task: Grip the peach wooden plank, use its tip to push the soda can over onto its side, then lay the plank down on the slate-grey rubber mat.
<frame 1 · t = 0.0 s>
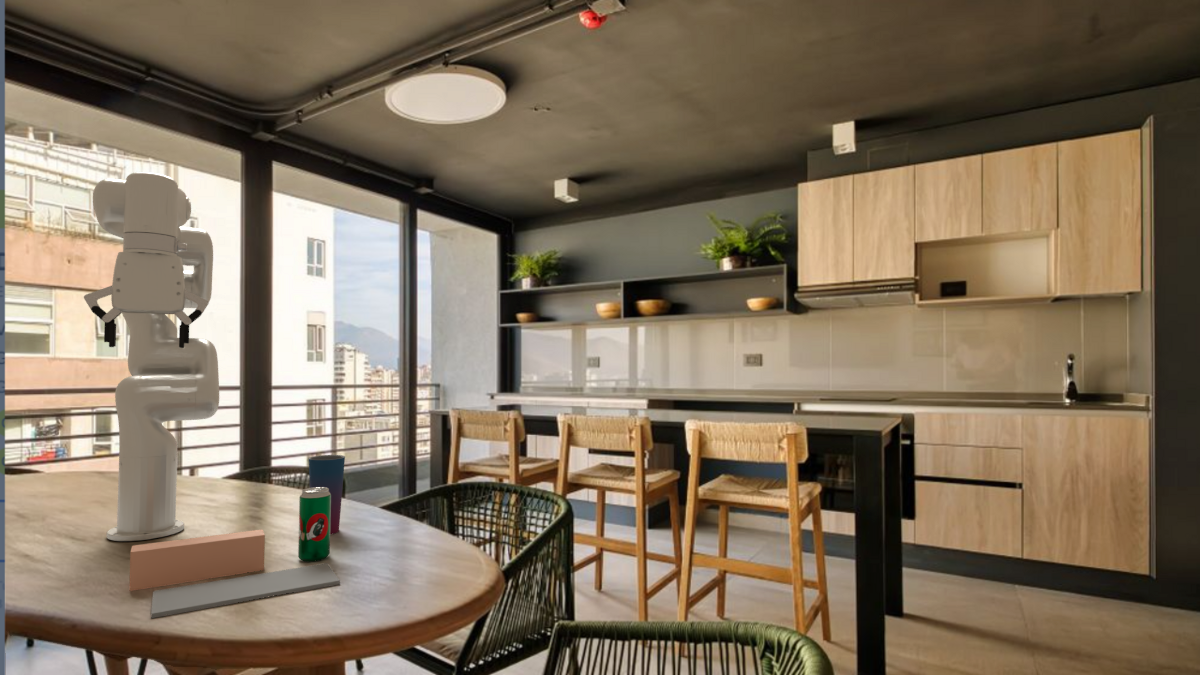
hand: (147, 347, 109), 37 cm above the table, tool pointing down, fingers open, 9 cm apart
soda can: (314, 559, 112), on the table
peach wooden plank: (199, 577, 103), on the table
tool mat: (248, 589, 97), on the table
cup: (325, 533, 129), on the table
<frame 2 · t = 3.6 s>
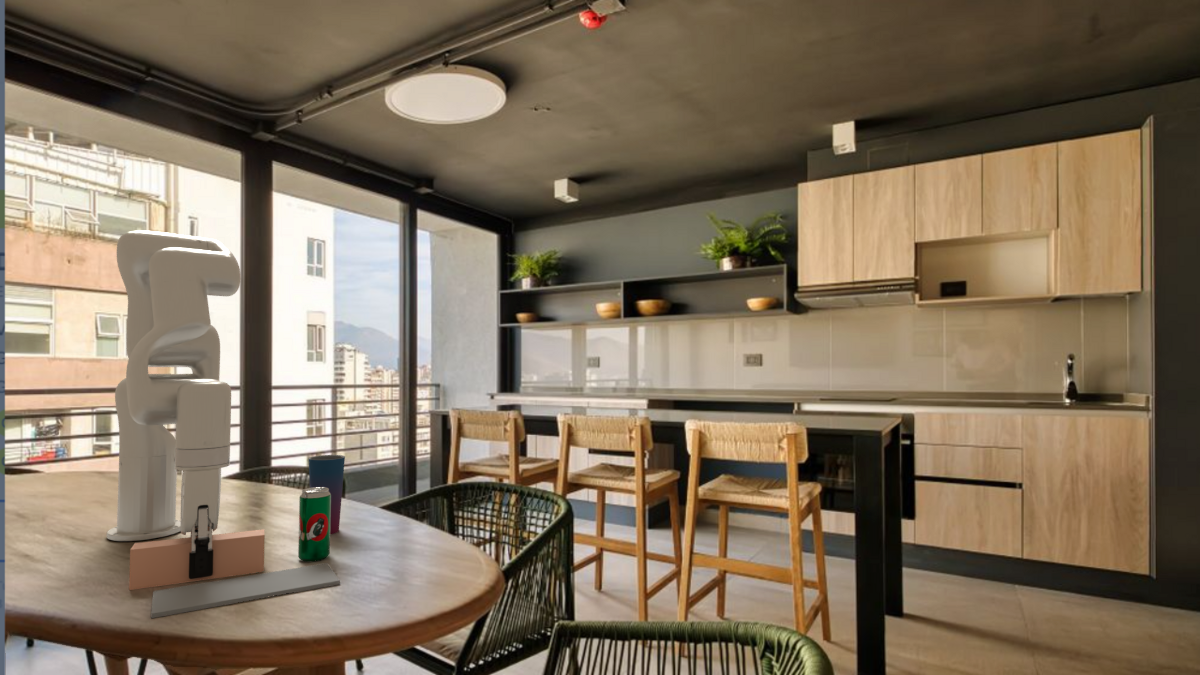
hand: (200, 571, 103), 1 cm above the table, tool pointing down, fingers closed on peach wooden plank, 4 cm apart
peach wooden plank: (200, 576, 103), on the table, touching gripper
everything else where it was.
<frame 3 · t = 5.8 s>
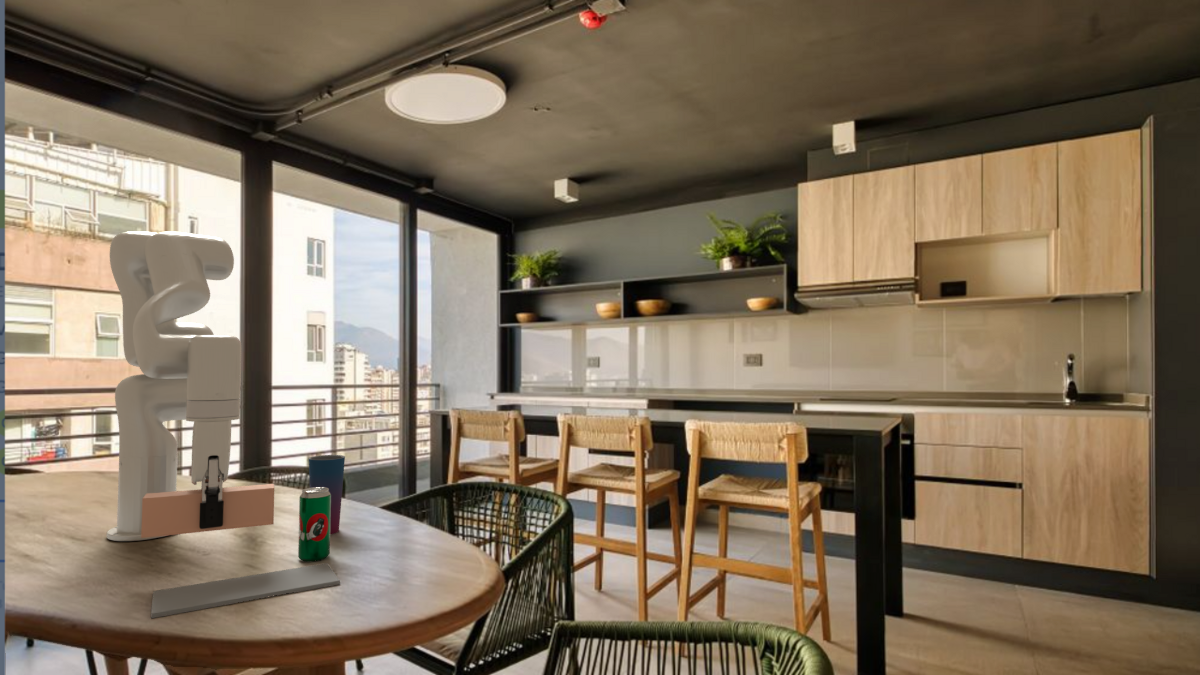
hand: (210, 522, 104), 8 cm above the table, tool pointing down, fingers closed on peach wooden plank, 4 cm apart
peach wooden plank: (210, 527, 104), point 7 cm above the table, touching gripper
everything else where it was.
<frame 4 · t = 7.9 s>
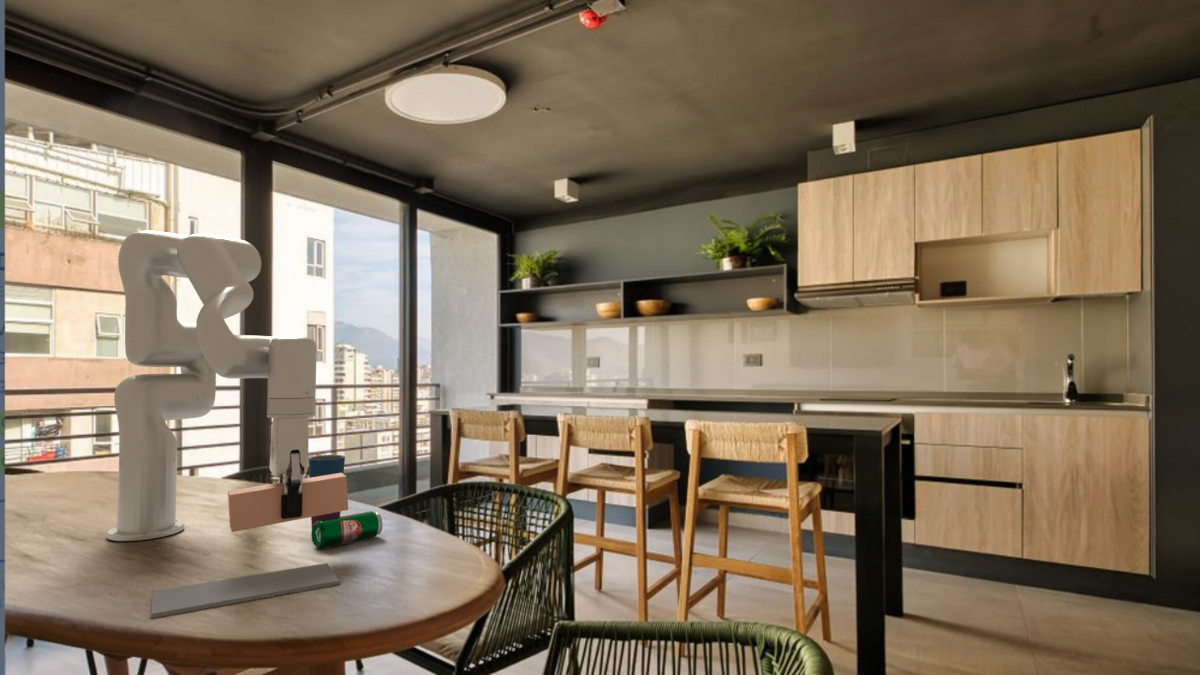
hand: (289, 513, 110), 8 cm above the table, tool pointing down, fingers closed on peach wooden plank, 4 cm apart
soda can: (314, 535, 117), point 3 cm above the table
peach wooden plank: (290, 518, 110), point 8 cm above the table, touching gripper
everything else where it was.
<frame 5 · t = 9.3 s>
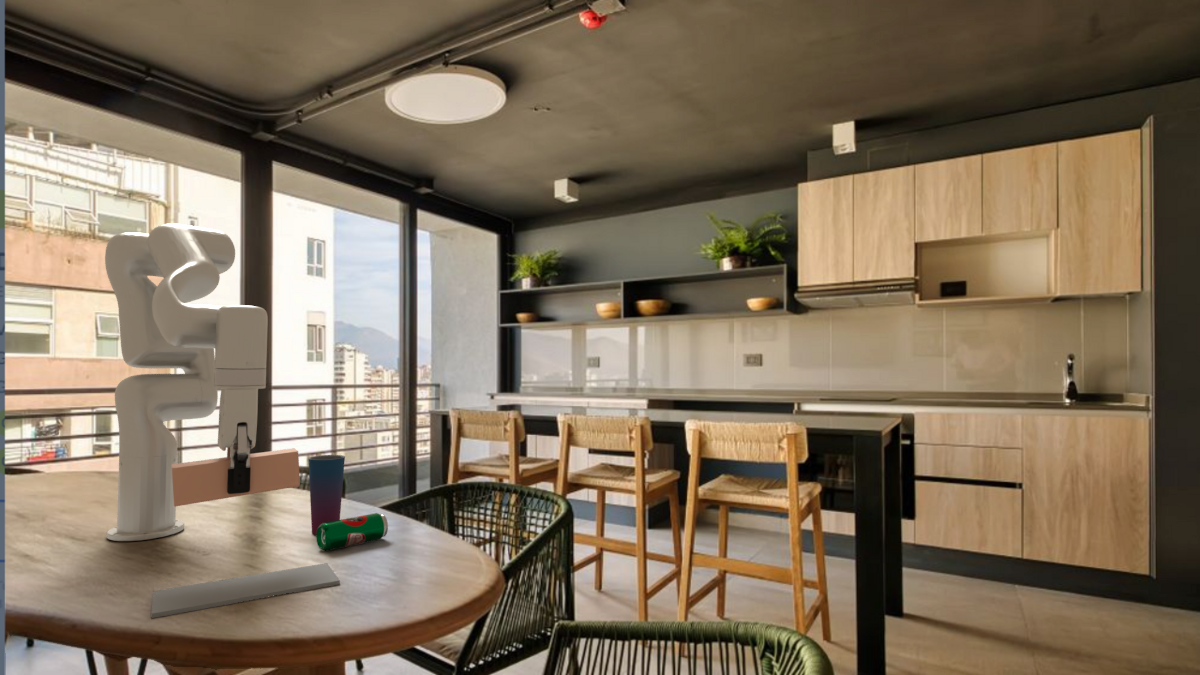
hand: (237, 488, 106), 13 cm above the table, tool pointing down, fingers closed on peach wooden plank, 4 cm apart
soda can: (319, 537, 116), point 3 cm above the table
peach wooden plank: (238, 493, 106), point 13 cm above the table, touching gripper
everything else where it was.
when the fingers open (3 cm above the table, at t = 12.8 s): peach wooden plank drops 1 cm, resting on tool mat.
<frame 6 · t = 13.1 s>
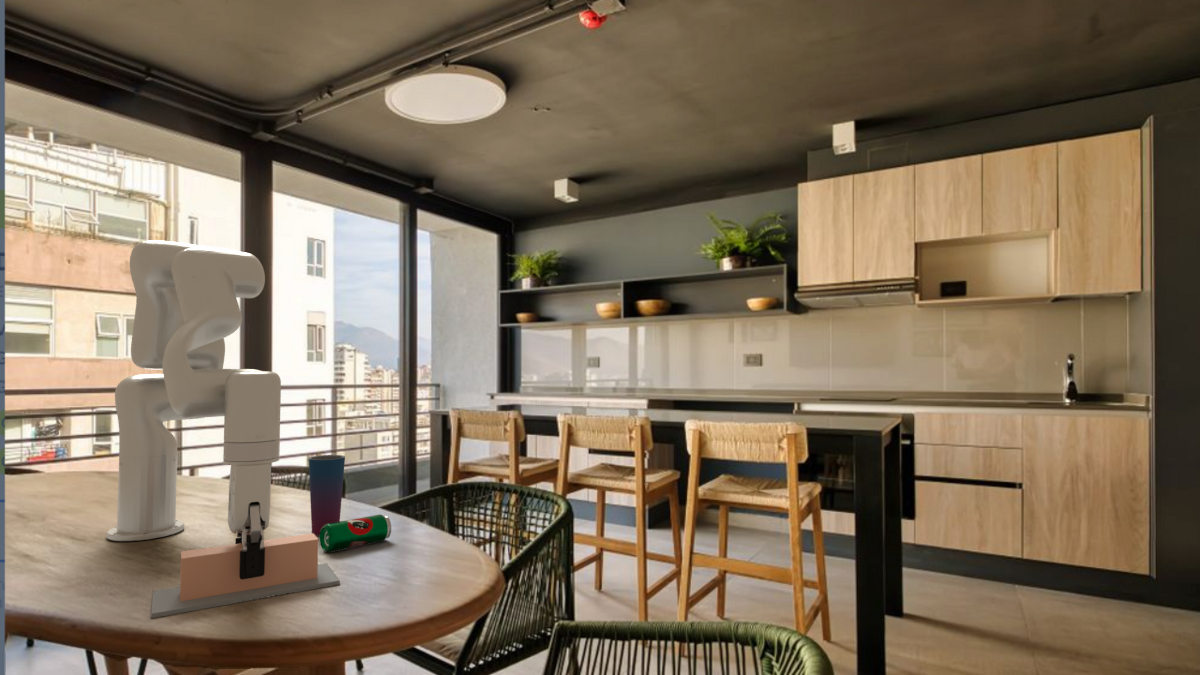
hand: (249, 568, 97), 3 cm above the table, tool pointing down, fingers open, 7 cm apart
soda can: (323, 539, 115), point 3 cm above the table
peach wooden plank: (251, 585, 97), point 1 cm above the table, touching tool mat
everything else where it was.
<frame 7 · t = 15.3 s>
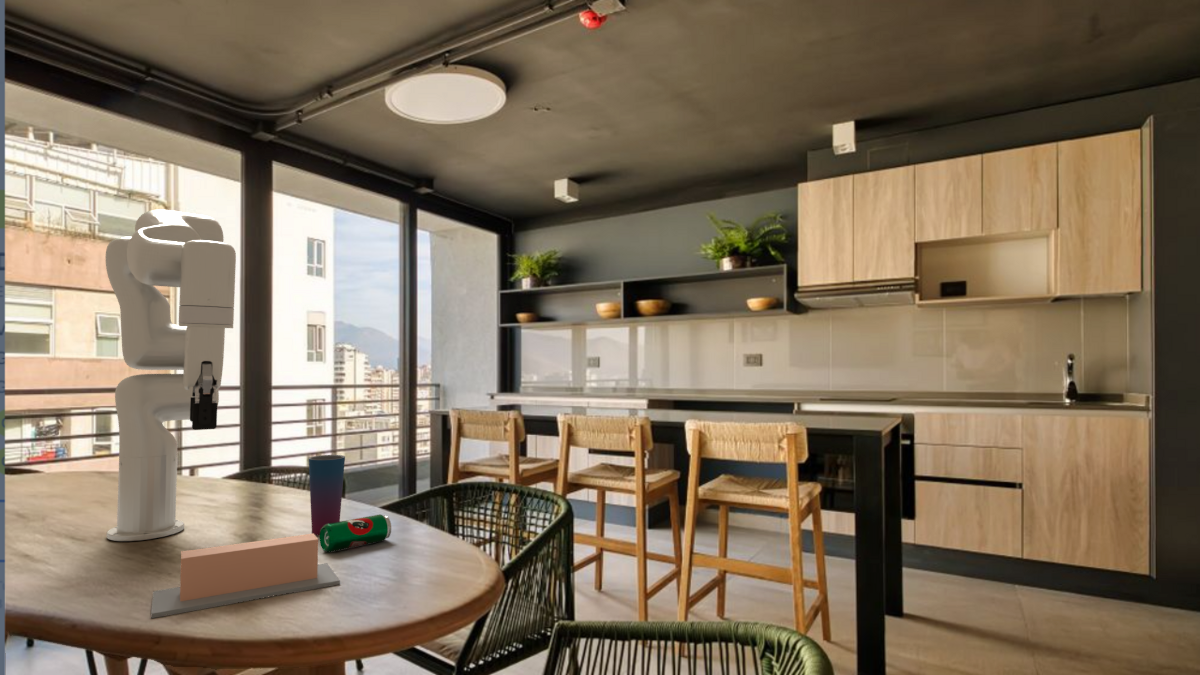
hand: (202, 424, 103), 24 cm above the table, tool pointing down, fingers open, 9 cm apart
nothing on the table moved.
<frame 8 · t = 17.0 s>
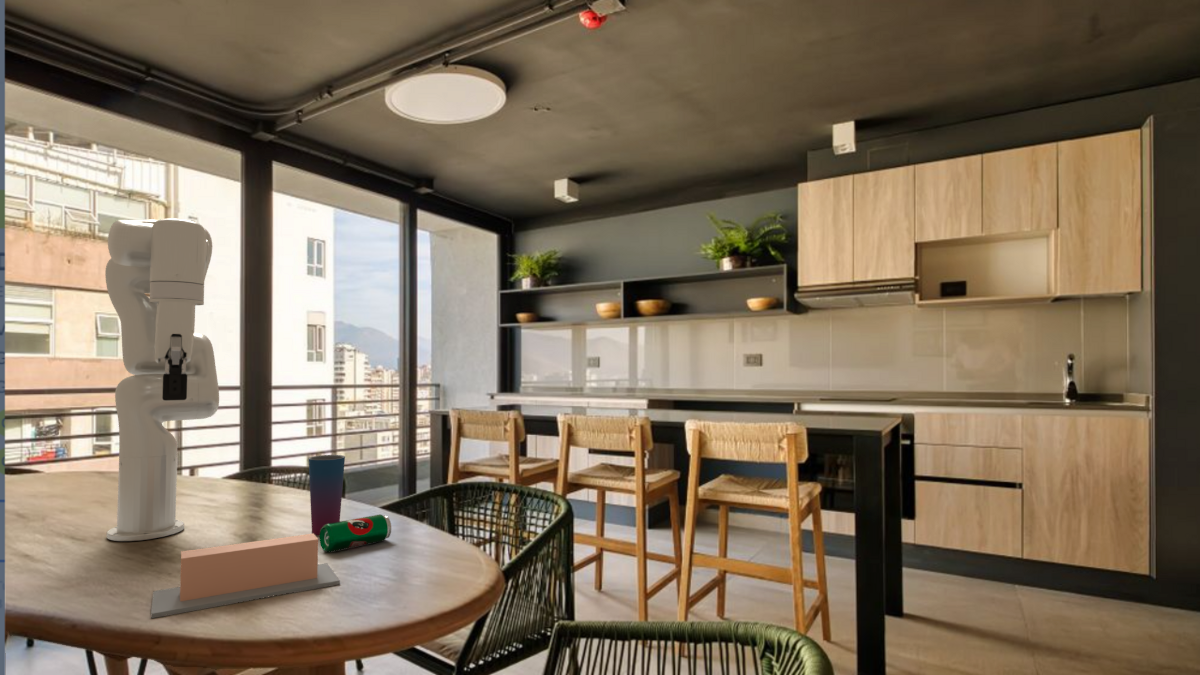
hand: (174, 398, 106), 28 cm above the table, tool pointing down, fingers open, 9 cm apart
nothing on the table moved.
at the end: soda can tilted 90°; peach wooden plank inside the target area on the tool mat (0.3 cm from its centre), point 0.6 cm above the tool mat's base; the gripper is holding nothing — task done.
